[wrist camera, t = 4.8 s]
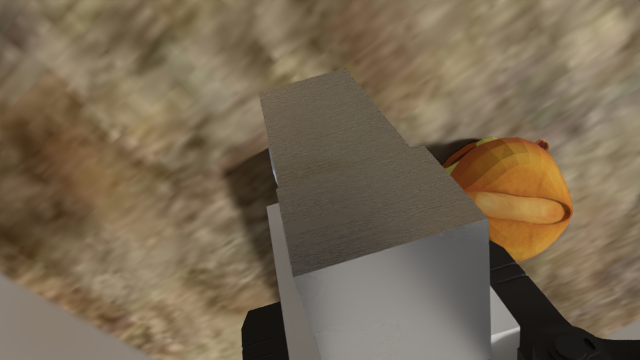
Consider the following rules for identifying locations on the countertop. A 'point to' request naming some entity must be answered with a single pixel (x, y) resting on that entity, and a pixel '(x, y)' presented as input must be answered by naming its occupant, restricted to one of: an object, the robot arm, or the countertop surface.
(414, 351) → the clip
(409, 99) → the countertop surface
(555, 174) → the cheeseburger
